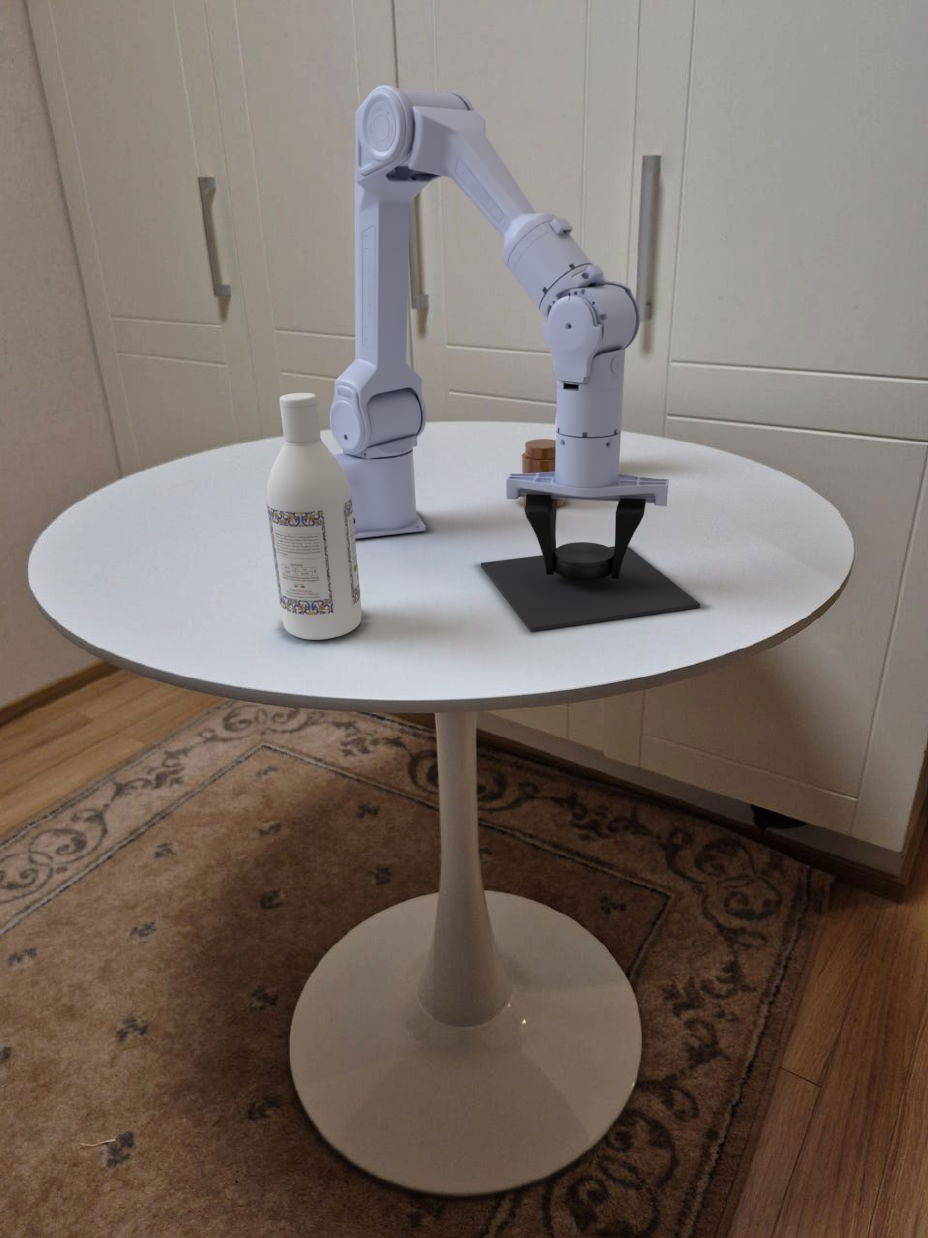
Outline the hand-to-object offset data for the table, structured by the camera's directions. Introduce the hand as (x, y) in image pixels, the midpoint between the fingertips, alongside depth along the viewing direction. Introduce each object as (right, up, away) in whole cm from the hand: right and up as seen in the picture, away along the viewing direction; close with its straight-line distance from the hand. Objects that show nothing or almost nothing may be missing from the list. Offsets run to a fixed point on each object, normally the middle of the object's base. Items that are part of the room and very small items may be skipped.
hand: (583, 572), depth 82 cm
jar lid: (0, +2, -1) cm, 2 cm away
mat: (0, -1, +1) cm, 1 cm away
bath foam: (-24, -5, -6) cm, 25 cm away
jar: (-2, +10, +25) cm, 27 cm away
